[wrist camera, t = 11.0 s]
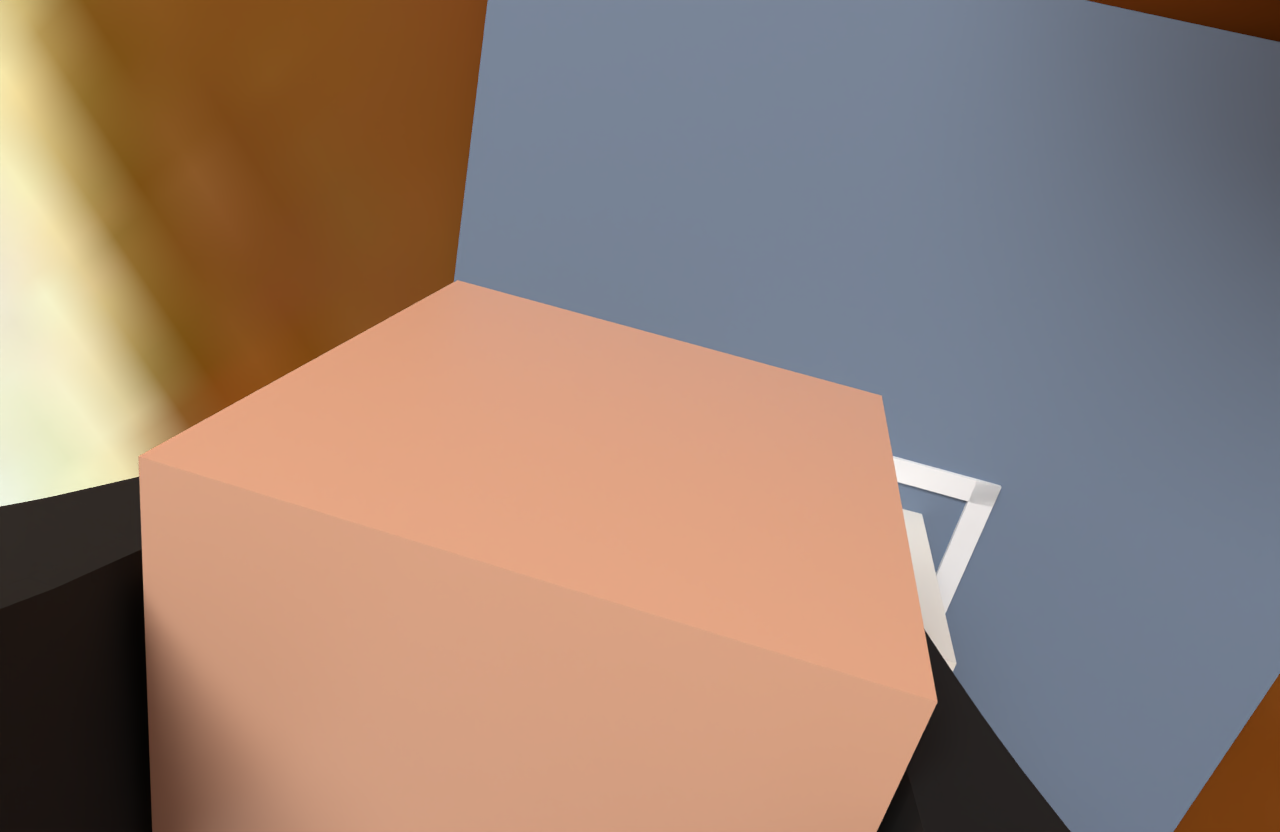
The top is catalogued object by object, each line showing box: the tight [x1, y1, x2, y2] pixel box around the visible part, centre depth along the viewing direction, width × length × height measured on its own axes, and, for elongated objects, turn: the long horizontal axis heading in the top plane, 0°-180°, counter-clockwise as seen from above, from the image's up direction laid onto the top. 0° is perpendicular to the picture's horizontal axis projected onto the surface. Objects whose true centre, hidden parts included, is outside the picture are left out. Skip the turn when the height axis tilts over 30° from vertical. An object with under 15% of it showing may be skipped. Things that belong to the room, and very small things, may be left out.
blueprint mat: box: [454, 0, 1280, 832], centre depth 18 cm, size 17×19×1 cm
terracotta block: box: [139, 280, 938, 832], centre depth 8 cm, size 5×5×5 cm
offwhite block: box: [903, 509, 956, 672], centre depth 17 cm, size 5×5×5 cm
